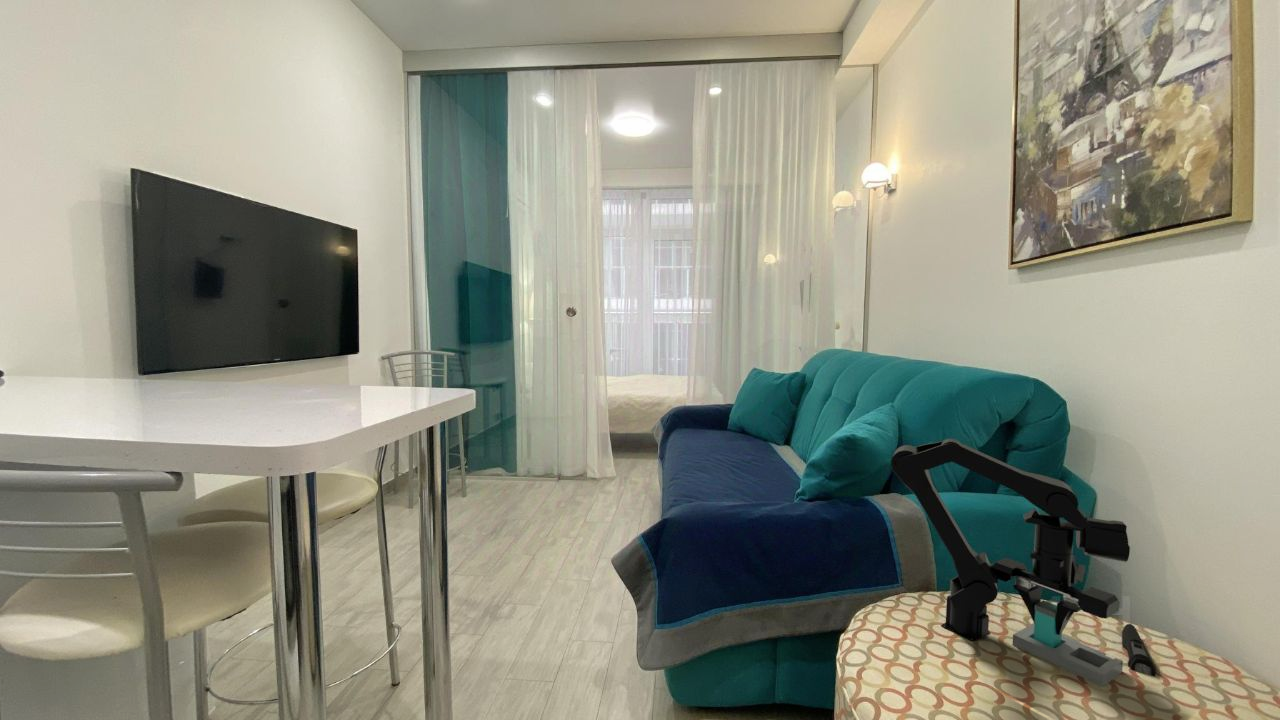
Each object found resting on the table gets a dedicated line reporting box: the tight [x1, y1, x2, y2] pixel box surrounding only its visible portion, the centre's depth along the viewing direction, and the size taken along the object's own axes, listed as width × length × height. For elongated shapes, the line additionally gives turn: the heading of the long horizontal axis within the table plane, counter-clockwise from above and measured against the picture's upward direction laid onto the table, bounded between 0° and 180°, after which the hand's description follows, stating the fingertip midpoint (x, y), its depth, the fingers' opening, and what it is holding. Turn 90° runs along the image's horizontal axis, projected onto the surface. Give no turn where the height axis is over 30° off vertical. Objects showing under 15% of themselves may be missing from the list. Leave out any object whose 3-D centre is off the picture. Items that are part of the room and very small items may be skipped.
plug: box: [1033, 600, 1063, 648], centre depth 103 cm, size 3×3×7 cm
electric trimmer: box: [1121, 623, 1157, 677], centre depth 103 cm, size 4×16×3 cm, turn 144°
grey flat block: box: [1011, 622, 1124, 687], centre depth 101 cm, size 14×8×3 cm, turn 31°
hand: (1047, 629), depth 103 cm, fingers closed on plug, 3 cm apart
